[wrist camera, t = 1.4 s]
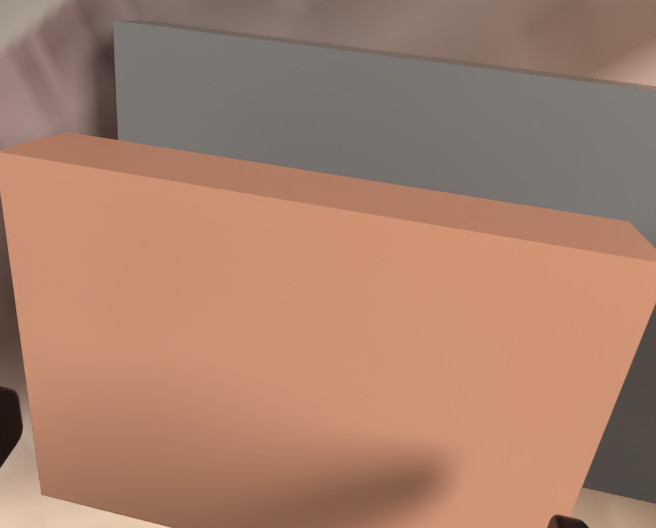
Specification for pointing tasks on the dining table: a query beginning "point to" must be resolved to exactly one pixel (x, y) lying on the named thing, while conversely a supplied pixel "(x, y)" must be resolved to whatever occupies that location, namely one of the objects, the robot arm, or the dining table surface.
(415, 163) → the key panel
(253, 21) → the dining table surface
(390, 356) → the terracotta key
